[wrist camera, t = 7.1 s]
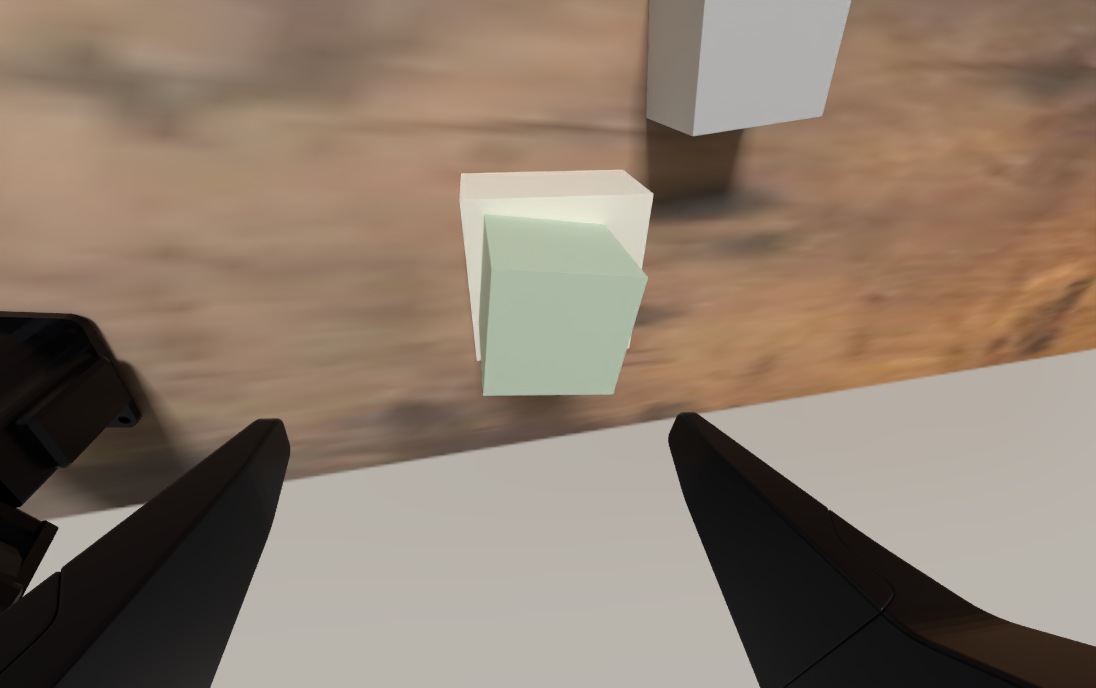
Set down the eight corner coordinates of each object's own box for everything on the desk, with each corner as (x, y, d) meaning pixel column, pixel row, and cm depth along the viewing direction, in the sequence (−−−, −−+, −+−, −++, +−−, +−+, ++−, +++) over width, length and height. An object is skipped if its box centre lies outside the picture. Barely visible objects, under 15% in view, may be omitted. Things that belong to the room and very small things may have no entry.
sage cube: (478, 322, 17) (483, 395, 13) (484, 214, 15) (491, 268, 11) (582, 325, 18) (613, 394, 14) (605, 224, 16) (647, 277, 12)
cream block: (475, 314, 21) (477, 360, 18) (461, 171, 17) (459, 199, 14) (606, 305, 22) (629, 348, 19) (621, 168, 18) (653, 193, 15)
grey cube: (645, 117, 17) (692, 136, 14) (649, -27, 14) (709, -52, 11) (748, 101, 17) (822, 116, 14) (770, -43, 15) (869, -72, 11)
